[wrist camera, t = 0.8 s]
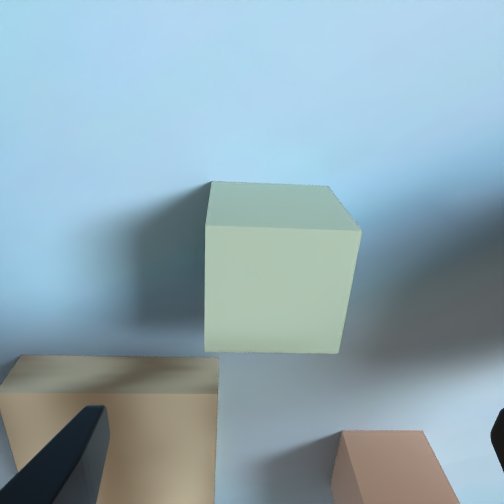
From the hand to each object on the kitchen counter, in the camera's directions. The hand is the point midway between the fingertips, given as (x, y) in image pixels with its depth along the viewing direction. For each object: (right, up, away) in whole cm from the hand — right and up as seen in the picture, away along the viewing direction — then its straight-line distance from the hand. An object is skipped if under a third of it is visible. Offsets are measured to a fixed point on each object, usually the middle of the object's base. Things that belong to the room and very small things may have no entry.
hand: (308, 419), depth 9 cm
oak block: (-8, -6, +14) cm, 17 cm away
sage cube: (-1, +5, +9) cm, 10 cm away
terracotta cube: (+6, -9, +16) cm, 20 cm away
